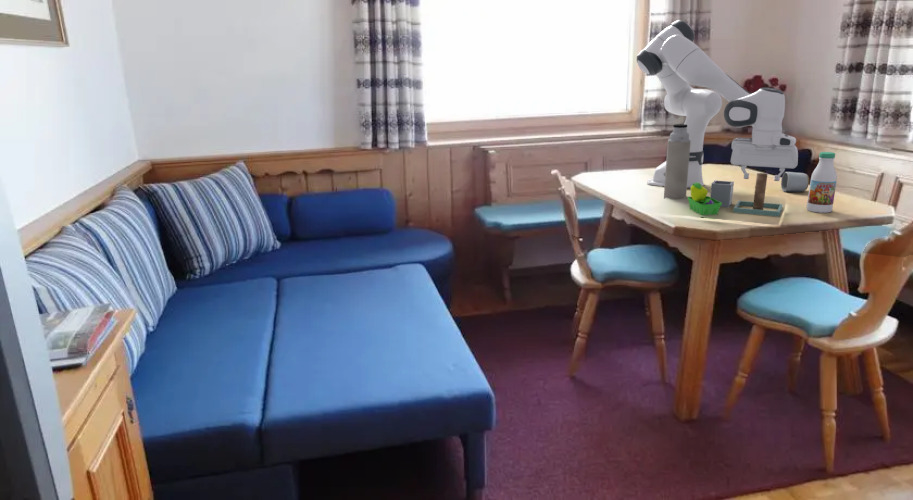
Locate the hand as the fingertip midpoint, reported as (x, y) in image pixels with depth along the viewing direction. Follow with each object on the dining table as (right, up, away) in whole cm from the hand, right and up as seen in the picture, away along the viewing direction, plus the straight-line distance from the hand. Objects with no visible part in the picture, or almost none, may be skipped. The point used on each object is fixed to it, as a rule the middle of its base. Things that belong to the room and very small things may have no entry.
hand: (761, 179), depth 212 cm
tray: (0, -11, +3) cm, 12 cm away
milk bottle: (+22, -10, +4) cm, 25 cm away
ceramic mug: (+29, -1, +35) cm, 46 cm away
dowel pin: (0, -10, +3) cm, 11 cm away
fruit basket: (-19, -12, +4) cm, 22 cm away
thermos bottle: (-20, -4, +27) cm, 34 cm away
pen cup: (-9, -9, +12) cm, 17 cm away
